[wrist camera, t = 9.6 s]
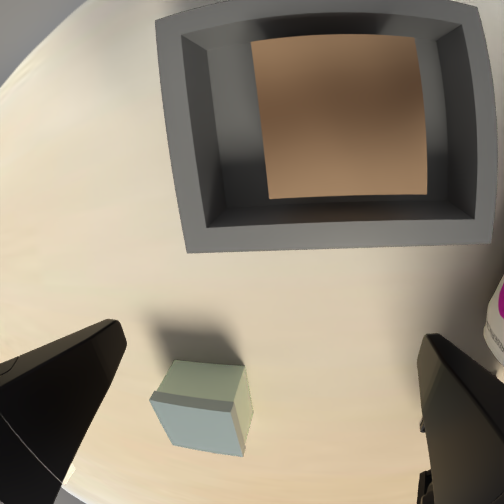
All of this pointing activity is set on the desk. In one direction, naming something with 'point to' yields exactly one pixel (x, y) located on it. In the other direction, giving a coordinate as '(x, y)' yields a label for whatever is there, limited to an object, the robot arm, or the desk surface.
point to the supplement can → (496, 323)
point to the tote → (251, 141)
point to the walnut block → (341, 115)
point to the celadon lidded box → (205, 407)
